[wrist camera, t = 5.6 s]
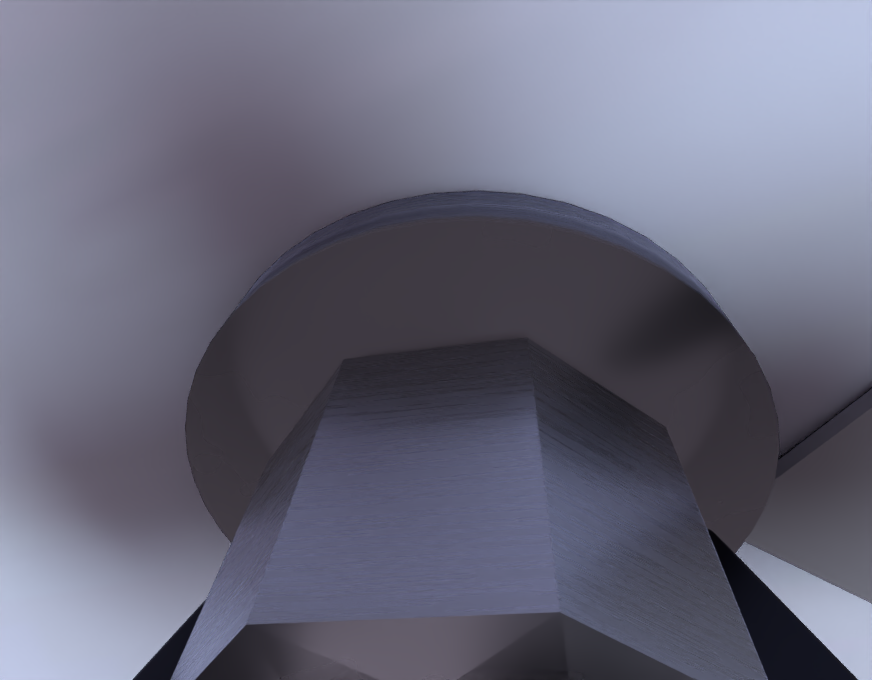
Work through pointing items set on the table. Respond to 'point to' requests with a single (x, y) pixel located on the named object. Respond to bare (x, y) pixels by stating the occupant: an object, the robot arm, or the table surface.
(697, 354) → the hub
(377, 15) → the table surface
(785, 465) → the stand pad
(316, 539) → the ring
